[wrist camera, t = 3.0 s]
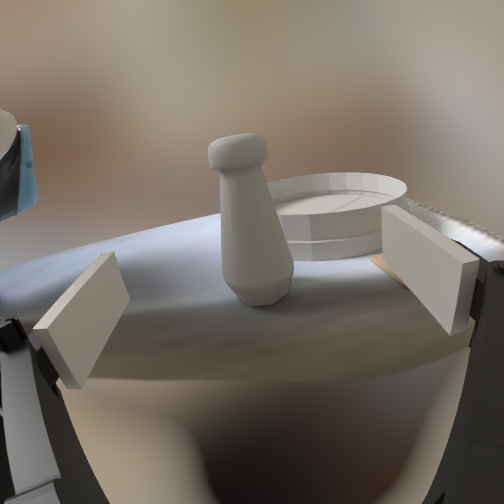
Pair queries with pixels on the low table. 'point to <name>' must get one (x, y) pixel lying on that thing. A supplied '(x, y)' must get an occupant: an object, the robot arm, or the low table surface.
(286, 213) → the dish
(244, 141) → the salt shaker
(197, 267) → the low table surface
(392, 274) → the cork coaster
